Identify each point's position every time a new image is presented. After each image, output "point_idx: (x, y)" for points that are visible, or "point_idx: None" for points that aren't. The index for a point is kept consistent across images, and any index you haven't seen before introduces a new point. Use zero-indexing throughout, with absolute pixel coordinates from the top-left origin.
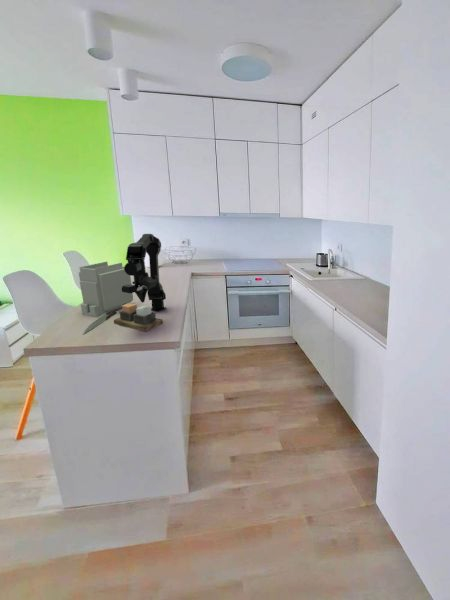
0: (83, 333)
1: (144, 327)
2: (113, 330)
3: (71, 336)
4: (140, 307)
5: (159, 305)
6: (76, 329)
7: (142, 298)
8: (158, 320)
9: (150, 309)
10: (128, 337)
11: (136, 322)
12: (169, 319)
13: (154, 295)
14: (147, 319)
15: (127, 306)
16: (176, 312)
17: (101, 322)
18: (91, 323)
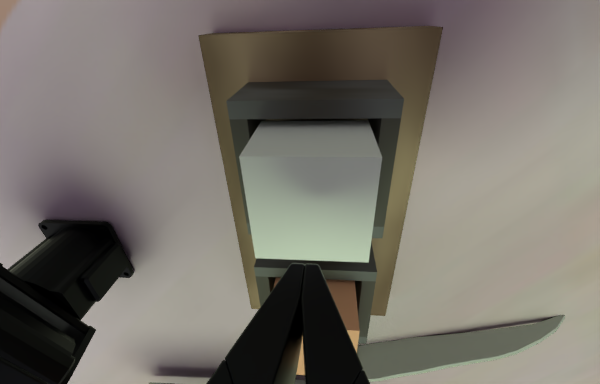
0: (560, 322)
1: (436, 38)
2: (471, 241)
3: (587, 339)
4: (311, 253)
5: (67, 251)
6: (500, 365)
7: (335, 325)
8: (238, 51)
9: (257, 145)
10: (578, 65)
11: None
12: (123, 44)
13: (25, 337)
14: (351, 90)
15: None
16: (5, 108)
17: (397, 341)
18: (490, 357)
